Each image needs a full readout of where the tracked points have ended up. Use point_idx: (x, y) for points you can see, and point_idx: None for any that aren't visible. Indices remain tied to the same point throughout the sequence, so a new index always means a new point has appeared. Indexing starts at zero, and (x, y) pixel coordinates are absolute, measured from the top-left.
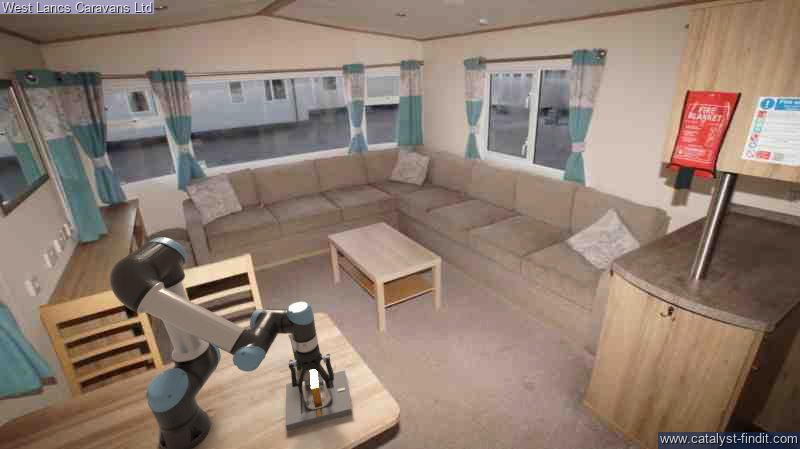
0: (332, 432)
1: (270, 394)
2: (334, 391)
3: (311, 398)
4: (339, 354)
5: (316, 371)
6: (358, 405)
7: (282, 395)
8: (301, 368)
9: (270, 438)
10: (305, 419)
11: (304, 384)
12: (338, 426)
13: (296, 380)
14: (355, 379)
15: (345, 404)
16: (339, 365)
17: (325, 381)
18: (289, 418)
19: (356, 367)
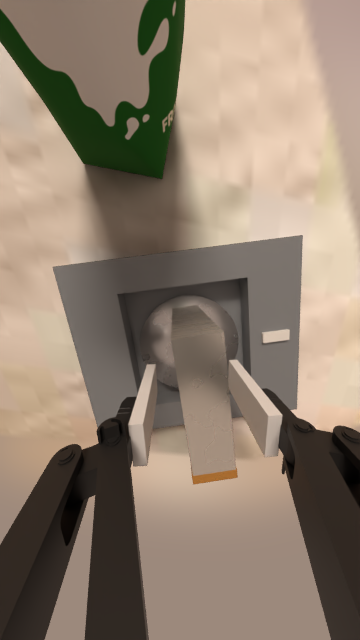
0: None
1: (11, 284)
2: (250, 338)
3: (168, 350)
4: (273, 94)
5: (222, 357)
6: (303, 372)
7: (59, 296)
8: (102, 163)
9: (69, 433)
10: (158, 426)
11: (145, 436)
12: (243, 423)
13: (79, 475)
14: (314, 269)
15: (280, 393)
16: (266, 177)
17: (289, 470)
18: (106, 417)
19: (330, 206)
